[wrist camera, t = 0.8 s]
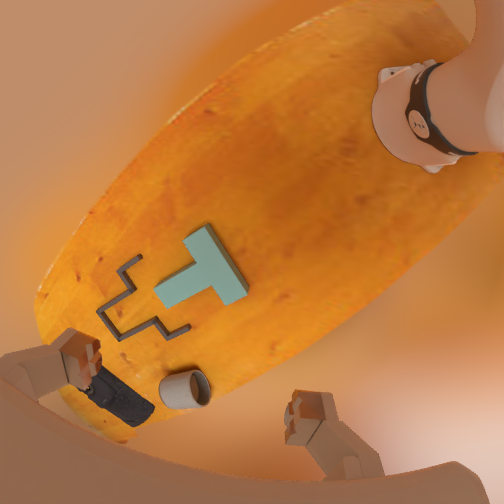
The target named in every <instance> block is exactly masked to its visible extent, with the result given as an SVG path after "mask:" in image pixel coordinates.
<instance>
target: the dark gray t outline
mask: <svg viewBox="0 0 504 504" xmlns="http://www.w3.org/2000/svg"><path fill="white" fill-rule="evenodd" d="M142 258H143V257H142V256H141V254H139V255H138V256H136V257H135V258H133V259H132V260H131V261H129V262H128V263H126V264H125V265H123V266H122V267H121V268H119V269H118V270H117V271H116V272H117V273H118V275H119V276H120V278H121V279H122V281H123V282H124V284H125V285H126V286H127V288H128V290H126V291H125V292H123V293H122V294H120V295H119V296H117V297H116V298H114V299H113V300H111V301H109V302H108V303H106V304H105V305H103V306H102V307H100V308H99V309H98V310H97V311H96V313H97V314H98V315H99V317H100V318H101V319H102V321H103V322H104V324H105V325H106V326H107V328H108V329H109V330H110V332H111V333H112V334H113V335H114V337H115V338H116V339H117V340H118V342H120V341H122V340H124V339H126V338H128V337H130V336H132V335H134V334H136V333H138V332H140V331H142V330H144V329H146V328H147V327H149V326H151V325H153V324H154V325H155V326H156V328H157V329H158V330H159V332H160V333H161V334H162V335H163V337H164V338H165V339H166V340H167V341H168V340H170V339H173V338H175V337H177V336H179V335H181V334H183V333H186V332H188V331H190V329H191V326H190V324H187V325H185V326H183V327H181V328H179V329H177V330H174V331H172V332H170V333H169V332H168V330H167V329H166V328H165V326H164V325H163V324H162V322H161V321H160V320H159V319H158V317H157V316H156V317H154V318H152V319H150V320H148V321H146V322H144V323H142V324H140V325H138V326H137V327H135V328H133V329H131V330H129V331H127V332H125V333H123V334H120V332H119V331H118V330H117V328H116V327H115V326H114V325H113V323H112V322H111V320H110V319H109V318H108V316H107V315H106V314H105V312H104V311H105V310H106V309H108V308H109V307H111V306H112V305H114V304H116V303H117V302H119V301H120V300H122V299H124V298H125V297H127V296H128V295H130V294H132V293H133V292H135V291H136V290H137V288H136V287H135V285H134V284H133V282H132V281H131V279H130V278H129V276H128V275H127V273H126V272H125V270H126V269H127V268H129V267H130V266H132V265H133V264H135V263H136V262H138V261H139V260H141V259H142Z"/></svg>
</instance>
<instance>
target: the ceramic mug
mask: <svg viewBox="0 0 504 504" xmlns="http://www.w3.org/2000/svg"><path fill="white" fill-rule="evenodd" d="M159 395H160V398H161V400H162V402H163V403H164V404H165V406H167V407H168V408H171V409H188V408H201V407H205V406H207V405H208V404H209V402H210V395H211V393H210V387H209V383H208V381H207V379H206V377H205V375H204V374H203V373H202V372H201V371H199V370H191V371H187V372H182V373H178V374H173V375H169V376H167V377H165V378H163V379H162V380H161V382H160V384H159Z"/></svg>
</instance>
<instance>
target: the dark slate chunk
mask: <svg viewBox="0 0 504 504" xmlns="http://www.w3.org/2000/svg"><path fill="white" fill-rule="evenodd" d="M91 379H92V382H91V383H90V384H89V386H88V387H89V389H86V390H85V391H84V390H82V389H80V388H77V387H76V388H77V389H78V390H79V391H80V392H81V391H82V392H84V393H85V394H87V395H88V398H89V399H90V400H92V401H93V402H95V403H96V404H97V405H98V406H99V407H100V408H105V409H106V410H108V411H109V412H111V413H112V414H114V415H115V416H117V417H118V418H120V419H121V420H122V421H123V422H125V423H126V424H128V425H130V426H131V427H136V426H138V425H140V424H142V423H144V422H145V421H146V420H147V419H148V418H149V417H150V415H151V414H152V413H153V411H154V408H155V406H154V405H153V404H151V403H150V402H149V401H148V400H146V399H144V398H143V397H141V396H140V395H139V394H138V393H137V392H135V391H134V390H133V389H131V388H130V387H129V386H128V385H126V384H125V383H124V382H122V381H121V380H119V378H117V377H116V376H115V375H114V374H112V373H111V372H110V371H109V370H107V369H106V368H105V367H104V366H102V365H101V368H100V371H99V372H98V373H97V375H95V376H92V377H91Z"/></svg>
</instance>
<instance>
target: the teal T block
mask: <svg viewBox="0 0 504 504" xmlns="http://www.w3.org/2000/svg"><path fill="white" fill-rule="evenodd" d="M182 241H183V243H184V244H185V246H186V247H187V249H188V250H189V252H190V253H191V255H192V256H193V258H194V260H195V261H194V262H192V263H191V264H189V265H187V266H186V267H184V268H182V269H180V270H179V271H177V272H175V273H174V274H172V275H170V276H169V277H167V278H165V279H164V280H162V281H160V282H159V283H158V284H157V285H156V286H155V287H154V289H153V290H154V291H155V293H156V294H157V295H158V297H159V298H160V300H161V301H162V302H163V304H164V305H165V307H166V308H167V309H168V308H170V307H172V306H174V305H176V304H177V303H179V302H181V301H183V300H185V299H187V298H189V297H190V296H192V295H194V294H196V293H198V292H200V291H202V290H203V289H205V288H207V287H209V286H211V285H212V287H213V288H214V289H215V291H216V292H217V294H218V295H219V297H220V298H221V300H222V301H223V303H224V304H225V305H228V304H230V303H232V302H234V301H236V300H238V299H240V298H242V297H244V296H246V295H248V291H249V286H248V284H247V283H246V281H245V280H244V278H243V276H242V275H241V273H240V272H239V270H238V269H237V267H236V265H235V264H234V262H233V261H232V259H231V258H230V256H229V254H228V253H227V251H226V250H225V248H224V247H223V245H222V243H221V242H220V240H219V239H218V237H217V235H216V234H215V232H214V231H213V229H212V227H211V226H210V224H209V223H208V224H206V225H204V226H203V227H201V228H199V229H198V230H196V231H195V232H193V233H191V234H190V235H188V236H187V237H186V238H185V239H184V240H182Z"/></svg>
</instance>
